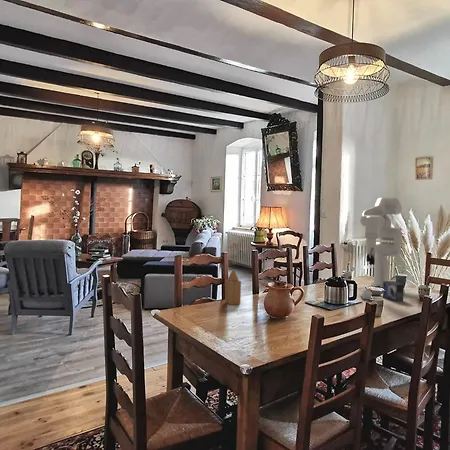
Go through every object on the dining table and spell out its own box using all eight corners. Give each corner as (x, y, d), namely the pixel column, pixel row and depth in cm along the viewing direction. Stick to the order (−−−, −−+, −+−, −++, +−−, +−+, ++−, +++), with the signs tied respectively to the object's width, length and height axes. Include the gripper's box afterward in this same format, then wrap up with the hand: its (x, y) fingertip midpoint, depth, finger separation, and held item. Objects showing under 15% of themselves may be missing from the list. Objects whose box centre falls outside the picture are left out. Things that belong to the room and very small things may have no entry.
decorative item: (234, 301, 221) (235, 267, 219) (240, 304, 215) (241, 268, 214) (224, 302, 217) (225, 267, 216) (231, 305, 212) (232, 269, 210)
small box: (381, 297, 240) (382, 281, 239) (389, 296, 242) (390, 280, 242) (395, 301, 230) (396, 284, 229) (403, 300, 233) (404, 283, 232)
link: (362, 296, 238) (362, 288, 238) (372, 297, 237) (372, 289, 236) (363, 298, 232) (364, 290, 232) (374, 299, 231) (374, 291, 231)
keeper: (360, 297, 239) (360, 286, 239) (373, 298, 237) (374, 287, 237) (362, 300, 231) (362, 289, 231) (376, 301, 230) (376, 290, 229)
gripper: (363, 234, 248) (361, 260, 249) (367, 237, 231) (366, 265, 233) (375, 234, 246) (374, 260, 248) (380, 237, 229) (379, 265, 231)
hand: (370, 262), depth 240 cm, fingers open, 9 cm apart
